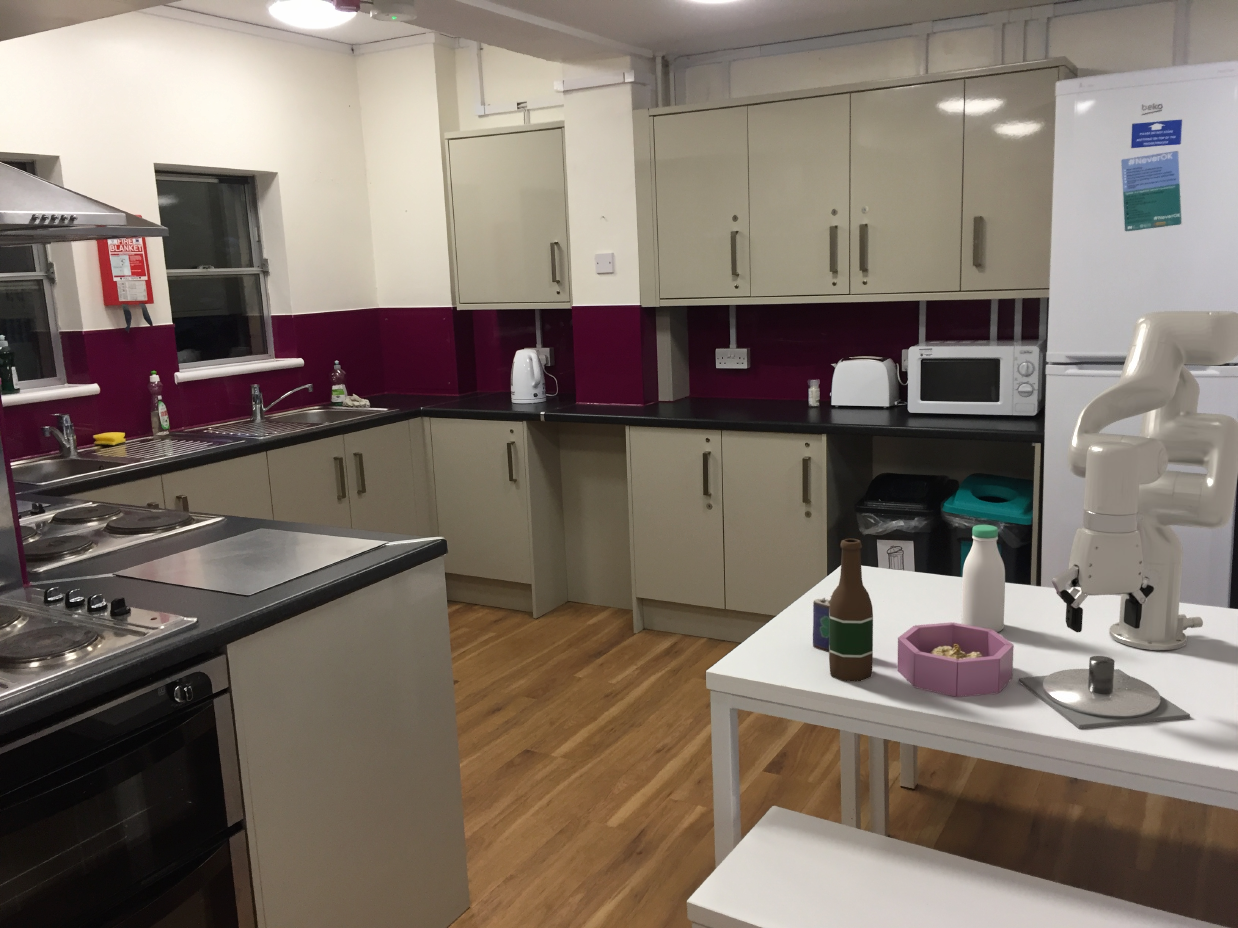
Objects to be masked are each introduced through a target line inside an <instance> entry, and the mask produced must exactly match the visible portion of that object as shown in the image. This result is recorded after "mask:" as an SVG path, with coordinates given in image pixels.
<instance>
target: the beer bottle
mask: <svg viewBox="0 0 1238 928" xmlns="http://www.w3.org/2000/svg"><path fill="white" fill-rule="evenodd" d="M839 546H840V548H841V559H840V560H841V561H840V562H841V563H840V575H839V581H838V585H837V586H836V588H834V590H833V592H832V594H831V595H832V596H831V595H830V598H829V600H830V607H829V652H828V659H829V661H828V662H829V674H830V676H831V678H835V679H836V680H839V681H842V682H854V683H855V682H863V681H866V680H868V679H871V678H872V676H873V666H874V665H873V663H874V662H873V660H874V658H873V657H874V656H873V655H874V654H873V653H874V652H873V651H874V650H873V649H874V647H873V646H874V611H873V610H874V609H873V604H872V601H871V600H872V599H871V597H870V595H869V592H868V590H867V589H866V587H865V586H864V584H863V583H864V582H863V574H862V556H861V550H862V548H863V545H862V542H861V540H860V539H856V538H845V539H842V540H841V542H840V545H839Z"/></svg>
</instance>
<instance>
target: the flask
mask: <svg viewBox="0 0 1238 928" xmlns="http://www.w3.org/2000/svg"><path fill="white" fill-rule="evenodd" d="M831 596H832V594H831V595H830V597H831ZM812 603H813V605H812V606H813V607H812V608H813V609H812V613H813V615H812V616H813V617H812V618H813V619H812V624H813V625H812V647H813V648H815V649H817V650H819V651H820V650H821V651H824V652H828V653H829V607H830V599H827V598H826V597H823V598H816V599H814V600H813V602H812Z"/></svg>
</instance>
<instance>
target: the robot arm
mask: <svg viewBox="0 0 1238 928" xmlns="http://www.w3.org/2000/svg"><path fill="white" fill-rule="evenodd" d="M1237 357H1238V312H1237V311H1229V310H1228V311H1227V310H1226V311H1225V310H1217V311H1216V310H1214V311H1213V310H1208V311H1206V310H1205V311H1203V310H1201V311H1200V310H1197V311H1196V310H1194V311H1193V310H1167V311H1166V310H1165V311H1156V312H1150V313H1146V314H1143V315H1141V316H1140V317H1139V318H1137V320H1136V322H1135V323H1134V327H1133V335H1132V339H1131V341H1130V343H1129V347H1128V351H1127V355H1126V358H1125V361H1124V364H1123V367H1122V370H1121V374H1120V378H1119V379H1118V382H1116V383H1114V384H1113V385H1111V386H1110V387H1108V388H1106V389H1105V390H1103V391H1102V392H1101V393H1099V394H1098V395H1097V396H1095V397H1094V398H1093V399H1092V400H1090V402H1089V403H1087V404H1086V405H1085V406H1084V407H1083V408H1082V410H1081V411H1080V413H1079V414H1078V417H1077V418H1076V422H1075V424H1074V428H1073V431H1072V434H1071V436H1070V437H1071V438H1070V440H1069V443H1068V446H1067V447H1068V448H1067V454H1066V463H1067V466H1068V469H1069V471H1070V472H1071V473H1072V474H1073V475H1075V476H1076V477H1079V478H1082V479H1085V481H1084V501H1083V515H1082V516H1083V517H1082V527H1079V528H1077V529H1076V532H1075V535H1074V537H1073V541H1072V544H1071V545H1072V546H1071V549H1070V550H1071V551H1070V555H1069V556H1070V557H1069V563H1068V569H1066V570H1065V571H1062V572H1061V573H1060V574H1058V575H1055V576H1054V577H1052V579H1051V582H1052V584H1053V587H1054V590H1055V591H1056V592H1055V593H1056V595H1057V596H1059V597H1060V599H1062V601H1063V603H1065V604H1066V607H1065V608H1066V609H1065V623H1066V627H1067V628H1068V629H1070V630H1072V631H1073V632H1076V633H1081V632H1082V630H1083V618H1084V617H1083V615H1084V609H1083V607H1081V605H1082V604H1083V602H1084V601H1085V600H1086V598H1087V597H1088V596H1111V595H1120V604H1119V619H1118V620H1119V622H1115V623H1113V624H1112V625H1110V627H1109V629H1108V630H1109V633H1108V634H1109V636H1110V637H1111V638H1112V639H1113V640H1114V641H1116V642H1118V643H1121V644H1123V645H1126V646H1130V647H1133V648H1137V649H1144V650H1148V651H1149V650H1150V651H1152V650H1153V651H1171V650H1172V651H1173V650H1177V649H1180V648H1182V647H1184V646H1185V645H1186V644H1187V639H1188V638H1187V635H1186V634H1185V632H1184V631H1186V630H1187V629H1188V628H1191V629H1195V628H1203V625H1204V621H1203V619H1202V617H1201V616H1191V617H1187V615H1186V614H1185V613H1183V614H1179V613H1180V599H1181V598H1180V597H1181V588H1182V587H1181V585H1182V584H1181V583H1182V574H1183V573H1182V572H1183V571H1182V569H1183V557H1184V552H1183V546H1182V542H1181V540H1180V538H1179V537H1178V535H1177V534H1176V532H1175V531H1174V530H1173V528H1172V527H1171V526H1177V527H1187V528H1188V527H1189V528H1197V529H1203V530H1204V529H1206V530H1218V529H1222V528H1224V527H1226V526H1227V525H1228V524H1229V522H1230V520H1231V517H1232V515H1233V514H1232V513H1233V510H1234V504H1235V498H1236V489H1237V482H1238V421H1237V420H1236V418H1233V417H1232V416H1229V415H1226V414H1220V413H1219V414H1218V413H1206V412H1205V413H1204V412H1203V413H1202V412H1198V407H1199V406H1198V404H1199V396H1200V390H1201V388H1200V386H1199V383H1198V381H1197V379H1196V378H1195V376H1194V375H1193V373H1192V372H1191V371H1190V370H1189V368H1187V367H1186V366H1185V365H1187V366H1189V365H1190V366H1191V365H1193V366H1195V365H1196V366H1197V365H1198V366H1220V365H1225V364H1227V363H1228V362H1230V361H1233V360H1234V359H1235V358H1237ZM1139 415H1141V423H1140V429H1139V435H1127V434H1117V433H1116V434H1115V433H1105V432H1104V433H1103V432H1102V430H1103V429H1105V428H1106V427H1108V426H1110V425H1111V424H1114V423H1116V422H1119V421H1122V420H1125V419H1129V418H1132V417H1136V416H1139ZM1169 465H1171V466H1172V465H1174V466H1184V467H1185V466H1187V467H1198V468H1203V469H1205V470H1206V471H1207V473H1200V472H1199V473H1198V472H1187V471H1181V470H1169V469H1168V466H1169ZM1066 585H1068V587H1069V588H1070V589H1069V590H1068V589H1067V586H1066Z"/></svg>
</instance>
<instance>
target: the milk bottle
mask: <svg viewBox="0 0 1238 928" xmlns="http://www.w3.org/2000/svg"><path fill="white" fill-rule="evenodd" d="M971 533H972V536H971V537H972V539H973V541H972V546H971V548H970V551H969V552H968V554H967V556H966V558H965V561H964V564H963V568H962V579H961V581H962V582H961V583H962V584H961V586H962V587H961V611H960V612H961V615H960V616H961V620H960V622H961V623H960V624H964V625H969V626H975V627H980V628H986V629H991V630H994V631H995V632H997V633H999V632H1001V631H1002V630H1003V628H1004V624H1005V623H1004V622H1005V600H1006V599H1005V597H1006V596H1005V595H1006V594H1005V593H1006V569H1005V568H1006V567H1005V564H1004V560H1003V558H1002V557H1001V554H1000V551H999V547H998V543H997V542H998V539H999V537H998V536H999V528H998V527H997V526H994V525H989V524H977V525H974V526H973V527H972V531H971Z"/></svg>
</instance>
